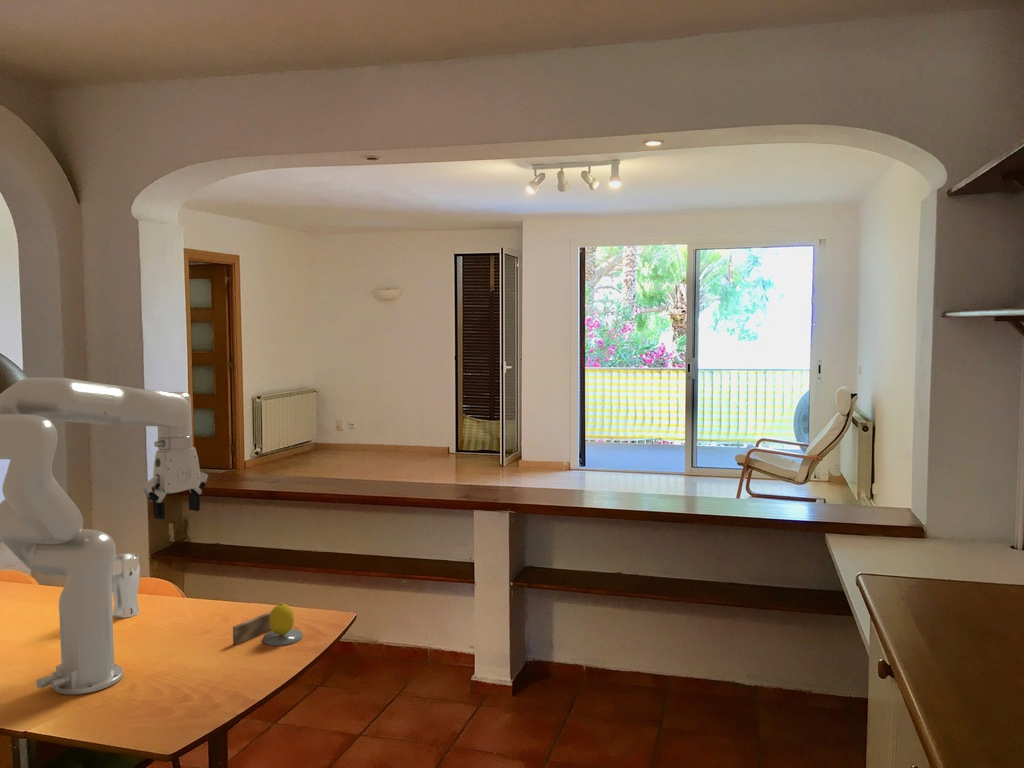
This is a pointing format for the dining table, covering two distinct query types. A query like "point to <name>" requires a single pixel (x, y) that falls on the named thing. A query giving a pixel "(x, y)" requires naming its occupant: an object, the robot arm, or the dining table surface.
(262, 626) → the walnut wall
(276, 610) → the lemon
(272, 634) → the coaster
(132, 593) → the beer glass
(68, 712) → the dining table surface
